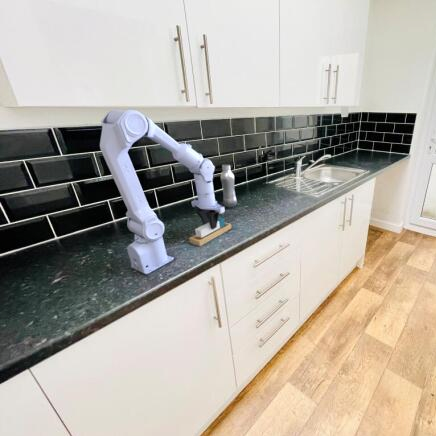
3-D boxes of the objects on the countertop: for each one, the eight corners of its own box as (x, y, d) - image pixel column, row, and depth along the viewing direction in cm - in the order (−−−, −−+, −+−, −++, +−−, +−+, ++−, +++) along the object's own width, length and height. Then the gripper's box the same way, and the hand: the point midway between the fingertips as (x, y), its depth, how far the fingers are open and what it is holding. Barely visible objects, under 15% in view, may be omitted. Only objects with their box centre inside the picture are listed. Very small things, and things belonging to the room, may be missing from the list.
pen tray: (200, 246, 89) (199, 241, 88) (189, 242, 92) (189, 238, 91) (231, 228, 102) (231, 223, 101) (222, 225, 104) (221, 221, 104)
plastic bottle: (225, 209, 120) (219, 167, 112) (222, 205, 126) (217, 164, 117) (238, 207, 122) (234, 166, 114) (236, 203, 128) (231, 163, 120)
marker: (201, 238, 91) (200, 230, 90) (196, 236, 92) (194, 228, 91) (225, 225, 100) (224, 218, 99) (219, 223, 101) (219, 216, 100)
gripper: (229, 192, 90) (232, 227, 95) (199, 186, 96) (205, 219, 102) (214, 198, 84) (219, 234, 90) (184, 191, 91) (190, 226, 96)
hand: (210, 227), depth 95 cm, fingers closed on marker, 3 cm apart
